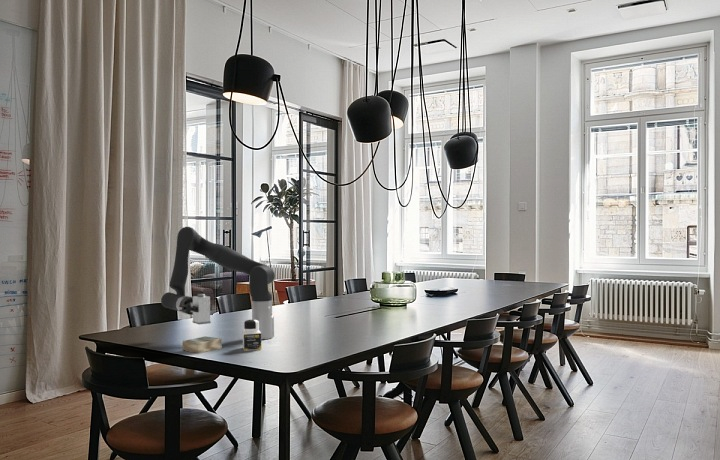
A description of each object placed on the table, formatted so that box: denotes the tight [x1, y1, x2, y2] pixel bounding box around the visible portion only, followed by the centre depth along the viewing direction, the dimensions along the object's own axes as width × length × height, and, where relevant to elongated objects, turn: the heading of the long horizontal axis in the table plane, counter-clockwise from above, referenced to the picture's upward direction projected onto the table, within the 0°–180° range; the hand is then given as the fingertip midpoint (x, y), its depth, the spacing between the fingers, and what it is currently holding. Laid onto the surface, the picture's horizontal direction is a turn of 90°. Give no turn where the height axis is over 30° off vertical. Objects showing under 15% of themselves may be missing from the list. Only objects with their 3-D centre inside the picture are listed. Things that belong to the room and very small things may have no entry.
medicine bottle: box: [242, 319, 262, 352], centre depth 243 cm, size 7×7×12 cm
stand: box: [182, 336, 223, 354], centre depth 243 cm, size 12×10×4 cm
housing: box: [192, 293, 212, 325], centre depth 243 cm, size 7×5×12 cm
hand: (204, 309), depth 241 cm, fingers closed on housing, 5 cm apart
